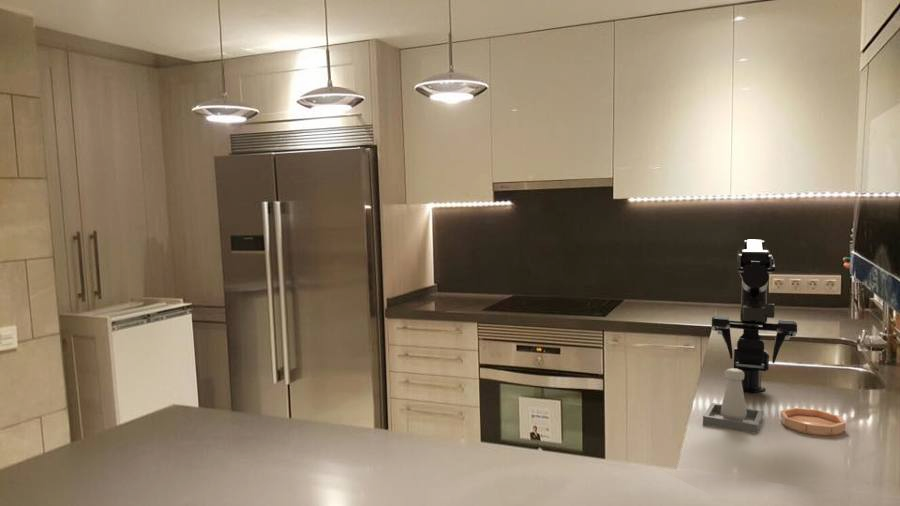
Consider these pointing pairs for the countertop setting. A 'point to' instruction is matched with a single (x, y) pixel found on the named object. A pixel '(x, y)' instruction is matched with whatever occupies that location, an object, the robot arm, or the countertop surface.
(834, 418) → the terracotta dish
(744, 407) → the salt shaker
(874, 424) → the countertop surface
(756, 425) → the charcoal tray
